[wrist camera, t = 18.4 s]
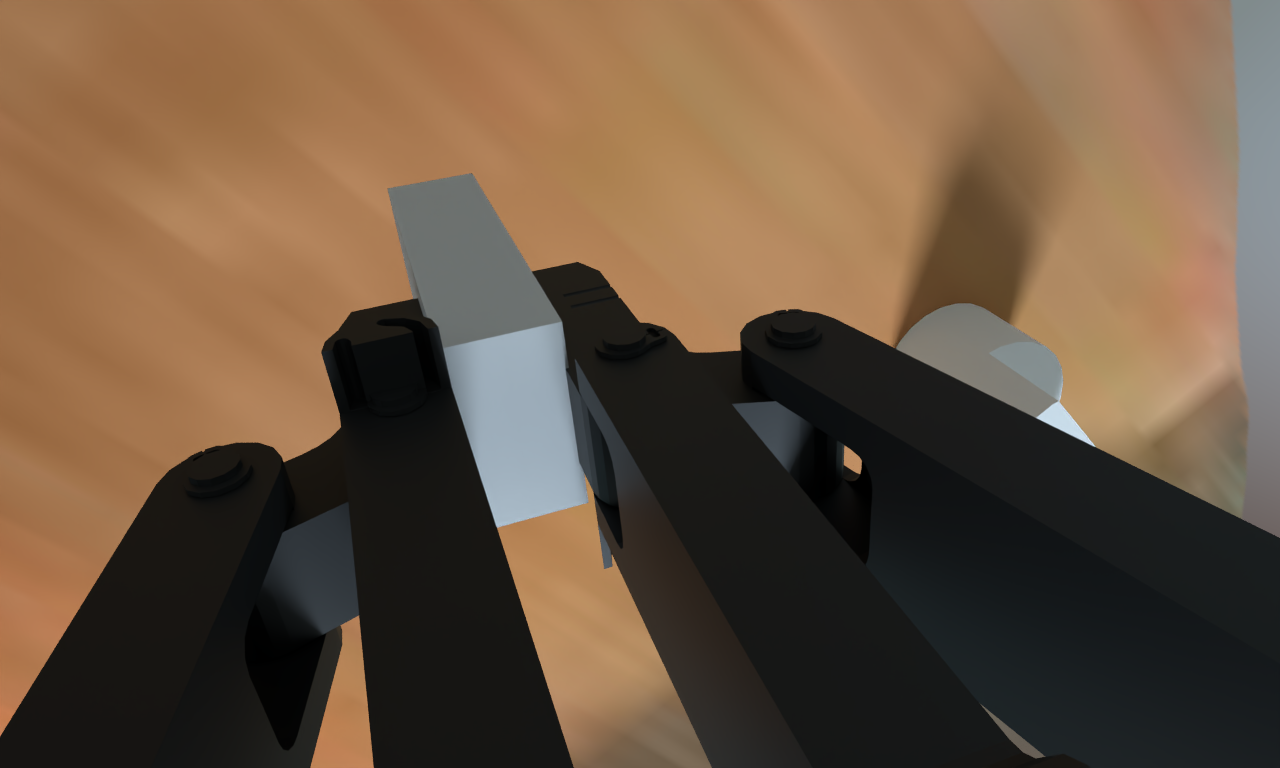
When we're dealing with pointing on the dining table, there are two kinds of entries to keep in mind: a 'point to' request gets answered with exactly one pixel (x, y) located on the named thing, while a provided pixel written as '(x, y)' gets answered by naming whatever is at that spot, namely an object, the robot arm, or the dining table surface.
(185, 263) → the dining table surface
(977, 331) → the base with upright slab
